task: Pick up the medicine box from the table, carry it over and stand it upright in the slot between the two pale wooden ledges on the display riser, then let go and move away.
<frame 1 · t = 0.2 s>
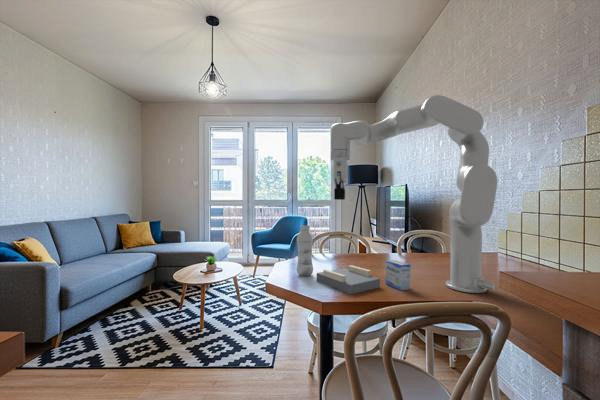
hand: (339, 199, 112), 31 cm above the table, tool pointing down, fingers open, 9 cm apart
plastic bottle: (304, 275, 115), on the table
display riser: (347, 284, 103), on the table
medicine box: (397, 287, 101), on the table
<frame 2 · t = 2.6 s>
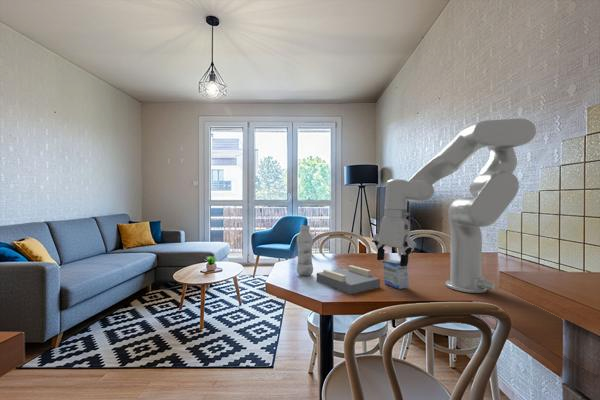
hand: (391, 262, 101), 8 cm above the table, tool pointing down, fingers open, 9 cm apart
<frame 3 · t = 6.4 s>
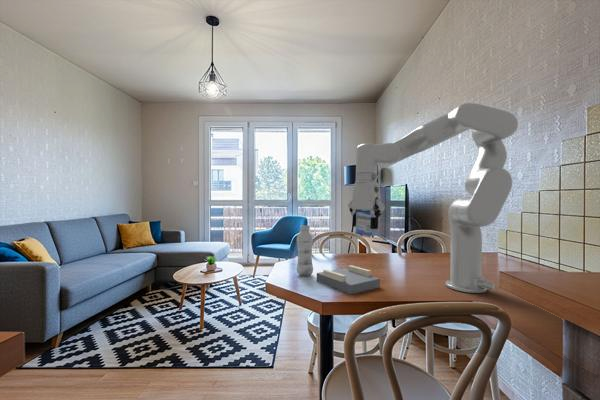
hand: (364, 227, 102), 21 cm above the table, tool pointing down, fingers closed on medicine box, 8 cm apart
medicine box: (367, 235, 103), point 18 cm above the table, touching gripper
everything else where it was.
when the fingers open (7 cm above the table, at t = 9.2 s): medicine box stays where it is, resting on display riser.
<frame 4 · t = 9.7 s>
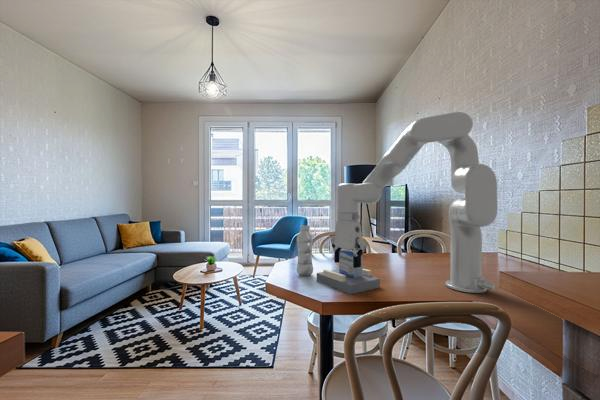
hand: (347, 264, 103), 7 cm above the table, tool pointing down, fingers open, 9 cm apart
medicine box: (350, 275, 104), point 3 cm above the table, touching display riser
everything else where it was.
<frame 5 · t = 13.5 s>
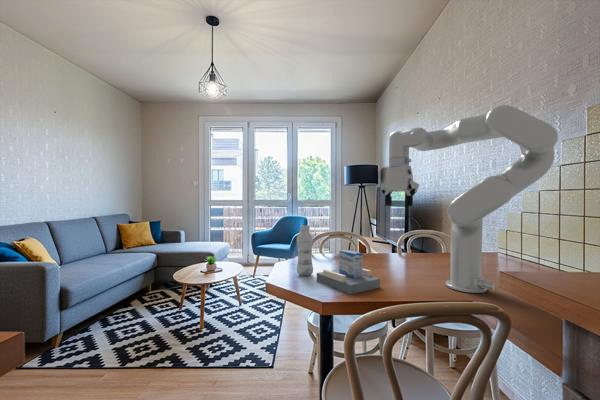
hand: (398, 206, 114), 28 cm above the table, tool pointing down, fingers open, 9 cm apart
nothing on the table moved.
at the end: medicine box 1.7 cm off-centre on the display riser, point 2.8 cm above the display riser's base; medicine box tilted 0°; the gripper is holding nothing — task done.
